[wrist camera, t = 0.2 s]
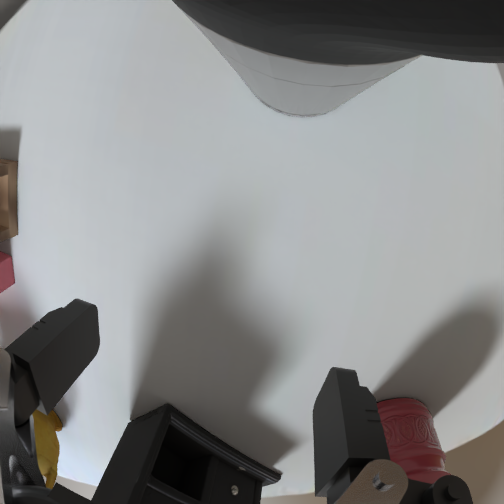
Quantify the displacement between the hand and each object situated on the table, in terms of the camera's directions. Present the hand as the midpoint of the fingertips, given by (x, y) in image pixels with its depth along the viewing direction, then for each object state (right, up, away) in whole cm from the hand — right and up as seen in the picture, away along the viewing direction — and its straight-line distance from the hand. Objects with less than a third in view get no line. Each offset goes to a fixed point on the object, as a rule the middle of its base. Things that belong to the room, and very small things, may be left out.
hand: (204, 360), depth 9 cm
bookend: (-5, -27, +30) cm, 40 cm away
